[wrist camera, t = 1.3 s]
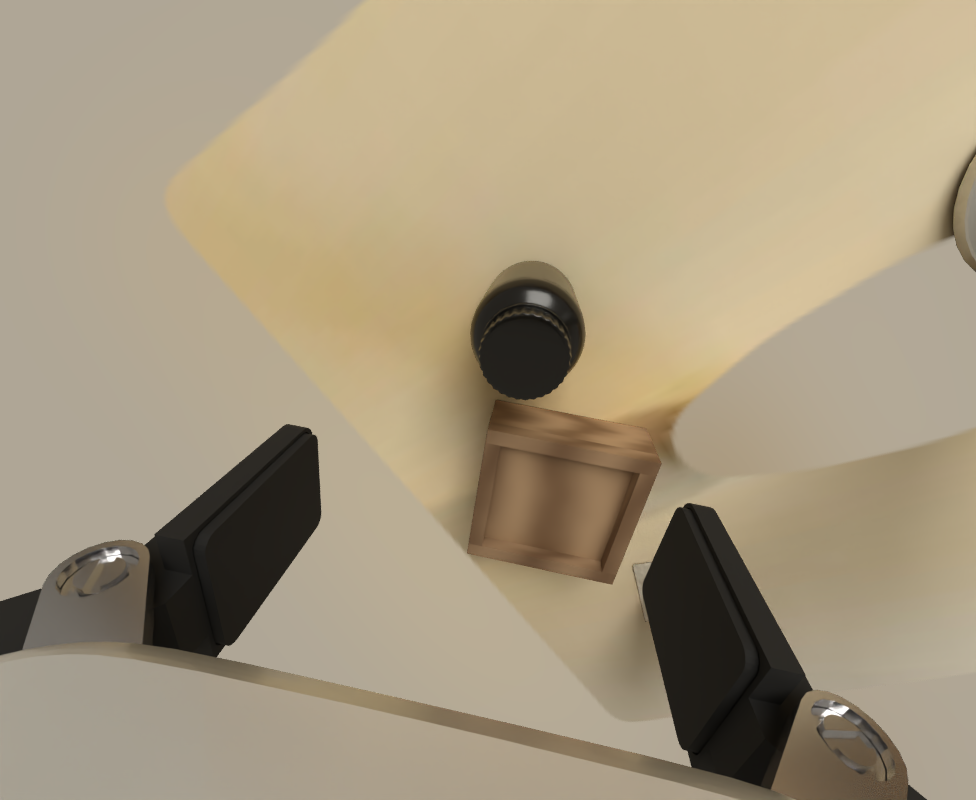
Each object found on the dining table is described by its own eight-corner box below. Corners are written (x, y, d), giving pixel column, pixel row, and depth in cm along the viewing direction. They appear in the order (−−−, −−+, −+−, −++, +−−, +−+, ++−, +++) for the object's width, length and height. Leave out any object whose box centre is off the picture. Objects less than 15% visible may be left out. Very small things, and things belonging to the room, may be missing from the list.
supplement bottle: (507, 359, 34) (486, 432, 23) (473, 280, 31) (433, 320, 21) (588, 330, 32) (608, 395, 21) (559, 244, 29) (565, 267, 19)
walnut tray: (646, 428, 35) (661, 463, 30) (605, 540, 40) (612, 584, 36) (495, 399, 35) (487, 429, 31) (476, 513, 41) (466, 553, 36)
